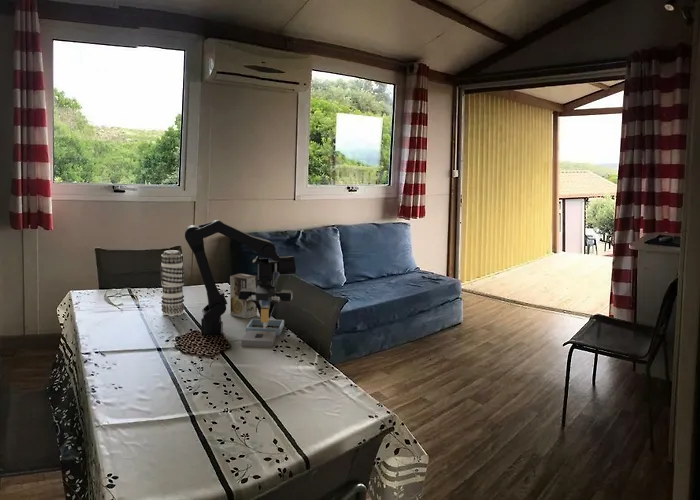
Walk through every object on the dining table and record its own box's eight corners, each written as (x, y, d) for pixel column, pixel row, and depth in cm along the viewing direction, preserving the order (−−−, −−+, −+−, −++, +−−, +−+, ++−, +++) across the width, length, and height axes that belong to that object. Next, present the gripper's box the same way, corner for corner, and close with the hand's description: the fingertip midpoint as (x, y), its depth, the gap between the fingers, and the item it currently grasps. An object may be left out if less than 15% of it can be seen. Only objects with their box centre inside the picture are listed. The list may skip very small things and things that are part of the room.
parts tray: (245, 336, 190) (245, 327, 189) (251, 326, 201) (251, 318, 200) (279, 337, 190) (280, 329, 189) (284, 327, 201) (284, 320, 200)
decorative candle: (156, 315, 210) (154, 252, 206) (167, 309, 219) (166, 248, 215) (178, 317, 209) (177, 253, 205) (189, 311, 218) (188, 250, 214)
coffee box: (257, 315, 215) (258, 275, 213) (246, 319, 210) (246, 278, 207) (241, 311, 220) (241, 272, 218) (229, 314, 215) (229, 275, 212)
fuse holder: (241, 348, 177) (241, 340, 177) (247, 338, 187) (247, 330, 187) (271, 349, 177) (271, 341, 177) (276, 339, 187) (276, 331, 187)
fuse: (260, 328, 193) (260, 308, 192) (262, 324, 197) (263, 304, 196) (268, 328, 193) (268, 308, 192) (270, 324, 197) (270, 305, 196)
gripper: (234, 279, 184) (234, 323, 186) (289, 281, 184) (288, 325, 186) (241, 272, 195) (241, 314, 197) (293, 274, 195) (292, 316, 197)
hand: (265, 317), depth 194 cm, fingers closed on fuse, 3 cm apart
